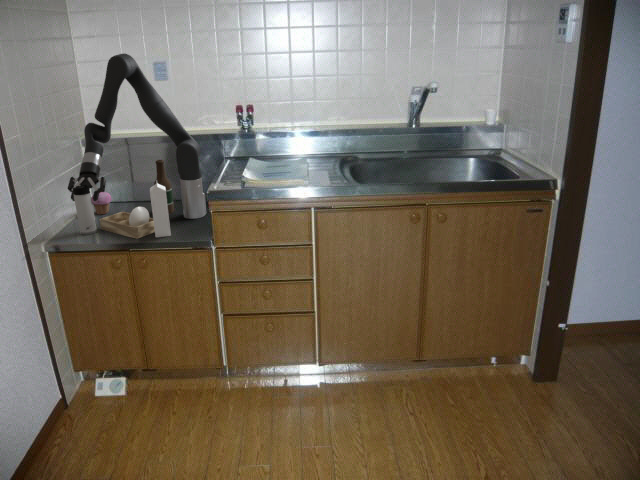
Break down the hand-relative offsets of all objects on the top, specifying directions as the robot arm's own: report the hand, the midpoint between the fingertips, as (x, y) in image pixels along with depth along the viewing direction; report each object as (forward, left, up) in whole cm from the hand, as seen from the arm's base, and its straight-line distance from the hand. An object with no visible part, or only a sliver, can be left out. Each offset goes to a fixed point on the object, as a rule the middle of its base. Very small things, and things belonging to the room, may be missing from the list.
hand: (84, 200), depth 219 cm
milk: (-13, +29, -14) cm, 34 cm away
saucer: (-10, +19, -12) cm, 25 cm away
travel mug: (+1, +1, -14) cm, 14 cm away
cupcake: (-19, -16, -14) cm, 29 cm away
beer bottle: (-34, +8, -14) cm, 38 cm away
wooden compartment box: (-10, +13, -13) cm, 21 cm away
